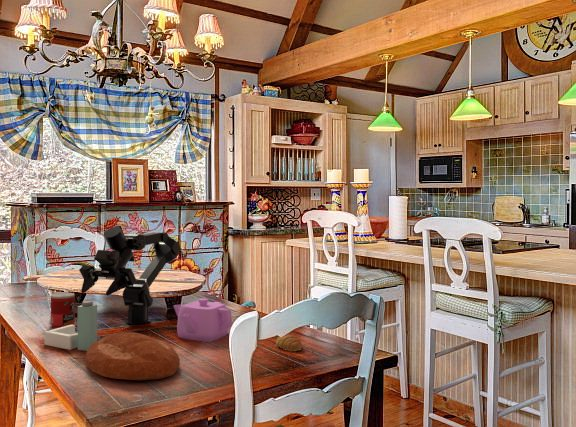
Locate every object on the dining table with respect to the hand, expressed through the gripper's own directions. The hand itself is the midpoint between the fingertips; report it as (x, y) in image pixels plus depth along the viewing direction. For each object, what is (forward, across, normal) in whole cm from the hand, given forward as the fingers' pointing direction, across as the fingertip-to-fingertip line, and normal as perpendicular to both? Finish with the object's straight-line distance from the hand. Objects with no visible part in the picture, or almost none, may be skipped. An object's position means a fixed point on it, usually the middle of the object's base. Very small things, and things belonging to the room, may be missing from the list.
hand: (94, 293), depth 168 cm
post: (+15, +3, +8) cm, 17 cm away
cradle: (+12, -5, +10) cm, 16 cm away
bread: (+23, +26, +3) cm, 35 cm away
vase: (-9, -31, +25) cm, 41 cm away
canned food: (-1, -22, +19) cm, 30 cm away
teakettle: (-5, +29, +22) cm, 37 cm away
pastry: (-3, +60, +21) cm, 64 cm away
